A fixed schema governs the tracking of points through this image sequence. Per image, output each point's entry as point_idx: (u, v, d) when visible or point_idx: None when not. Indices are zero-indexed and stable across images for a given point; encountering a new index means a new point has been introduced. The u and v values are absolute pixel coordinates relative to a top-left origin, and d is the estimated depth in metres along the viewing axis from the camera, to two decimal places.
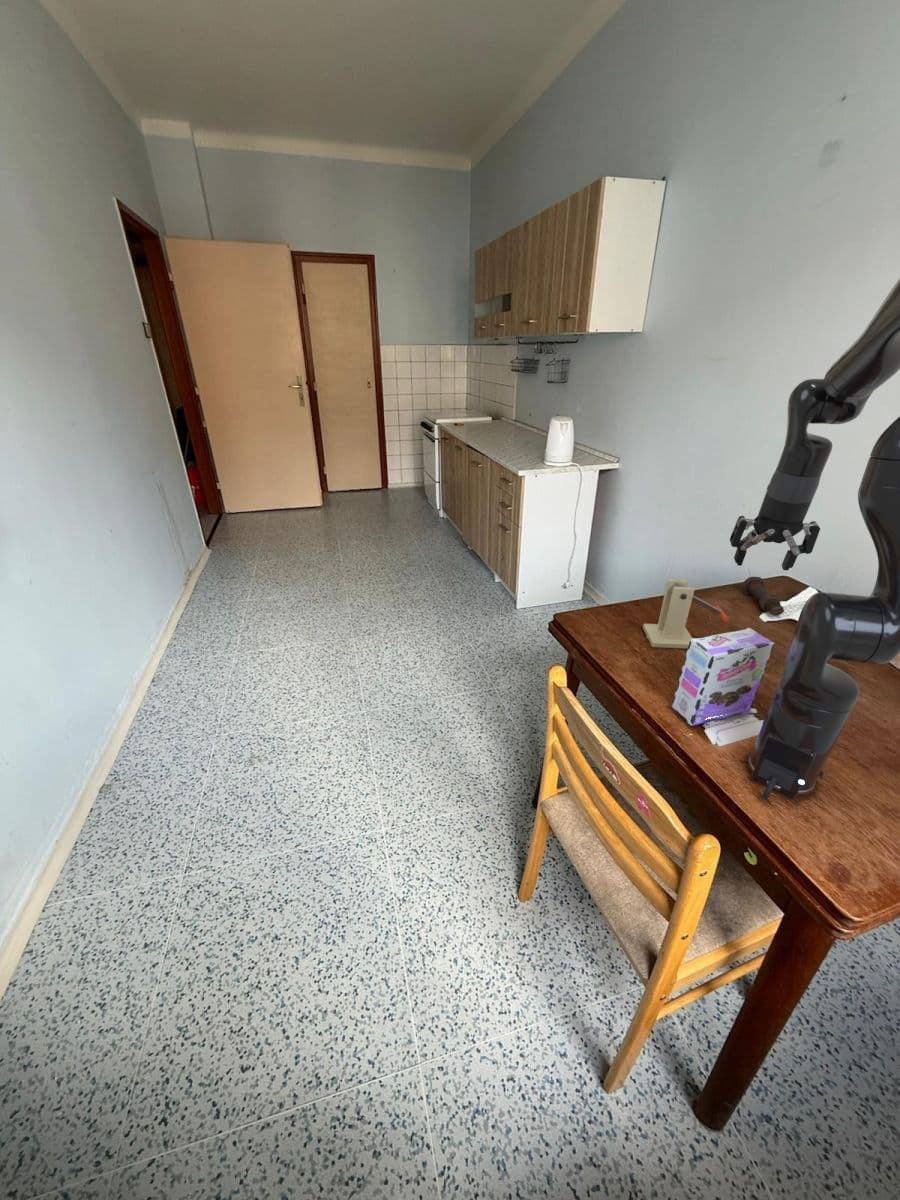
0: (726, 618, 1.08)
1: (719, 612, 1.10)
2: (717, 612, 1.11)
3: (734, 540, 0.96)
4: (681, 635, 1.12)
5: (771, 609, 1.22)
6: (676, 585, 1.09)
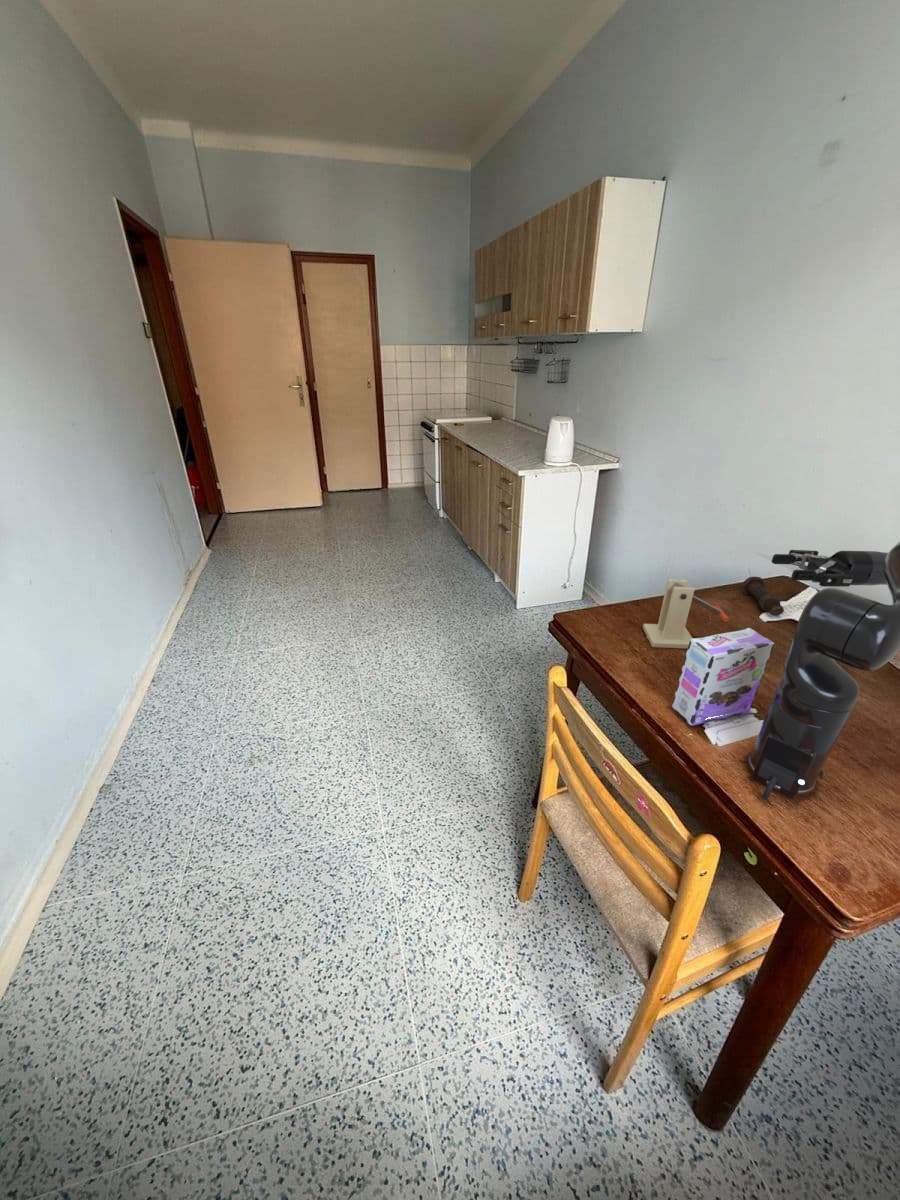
0: (726, 618, 1.08)
1: (719, 612, 1.10)
2: (717, 612, 1.11)
3: (796, 550, 1.09)
4: (681, 635, 1.12)
5: (771, 609, 1.22)
6: (676, 585, 1.09)
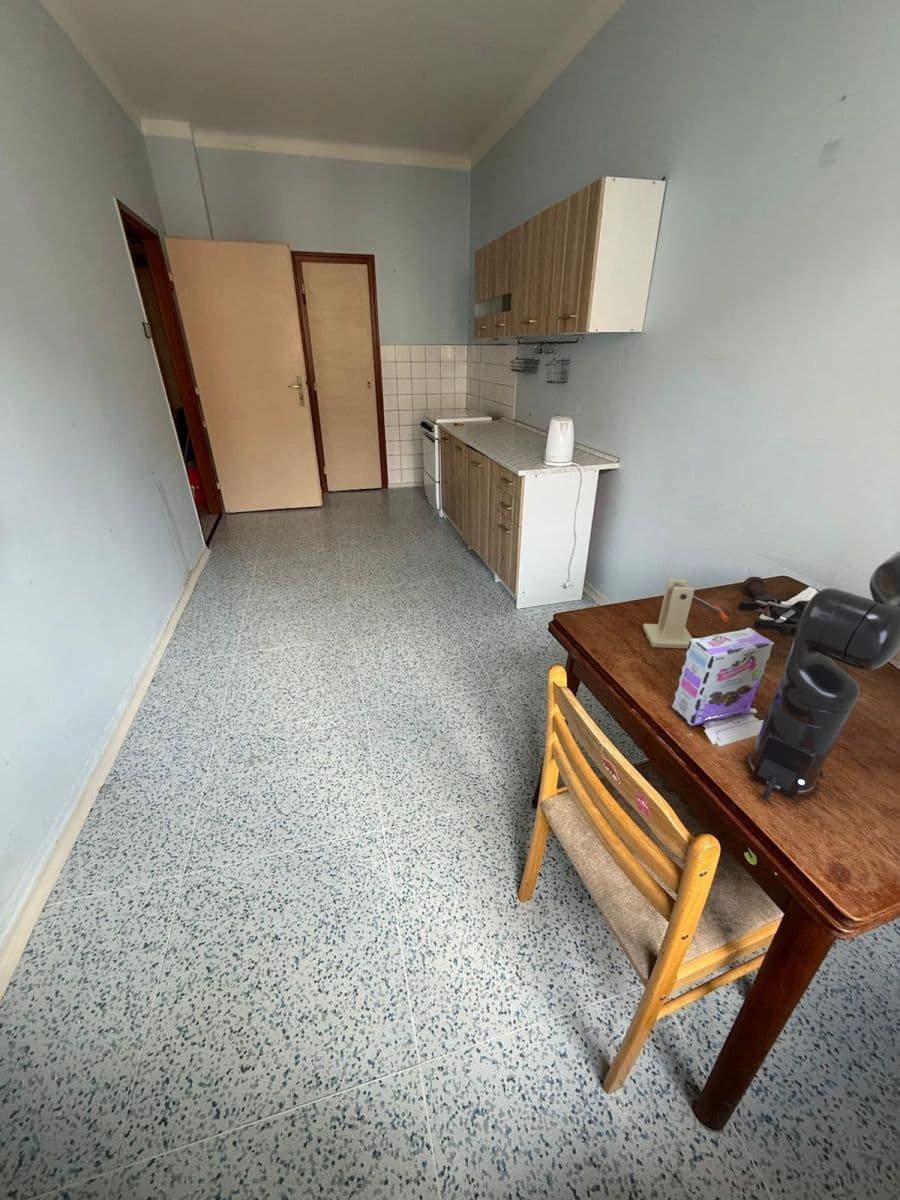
0: (726, 618, 1.08)
1: (719, 612, 1.10)
2: (717, 612, 1.11)
3: (761, 597, 1.15)
4: (681, 635, 1.12)
5: (771, 609, 1.22)
6: (676, 585, 1.09)
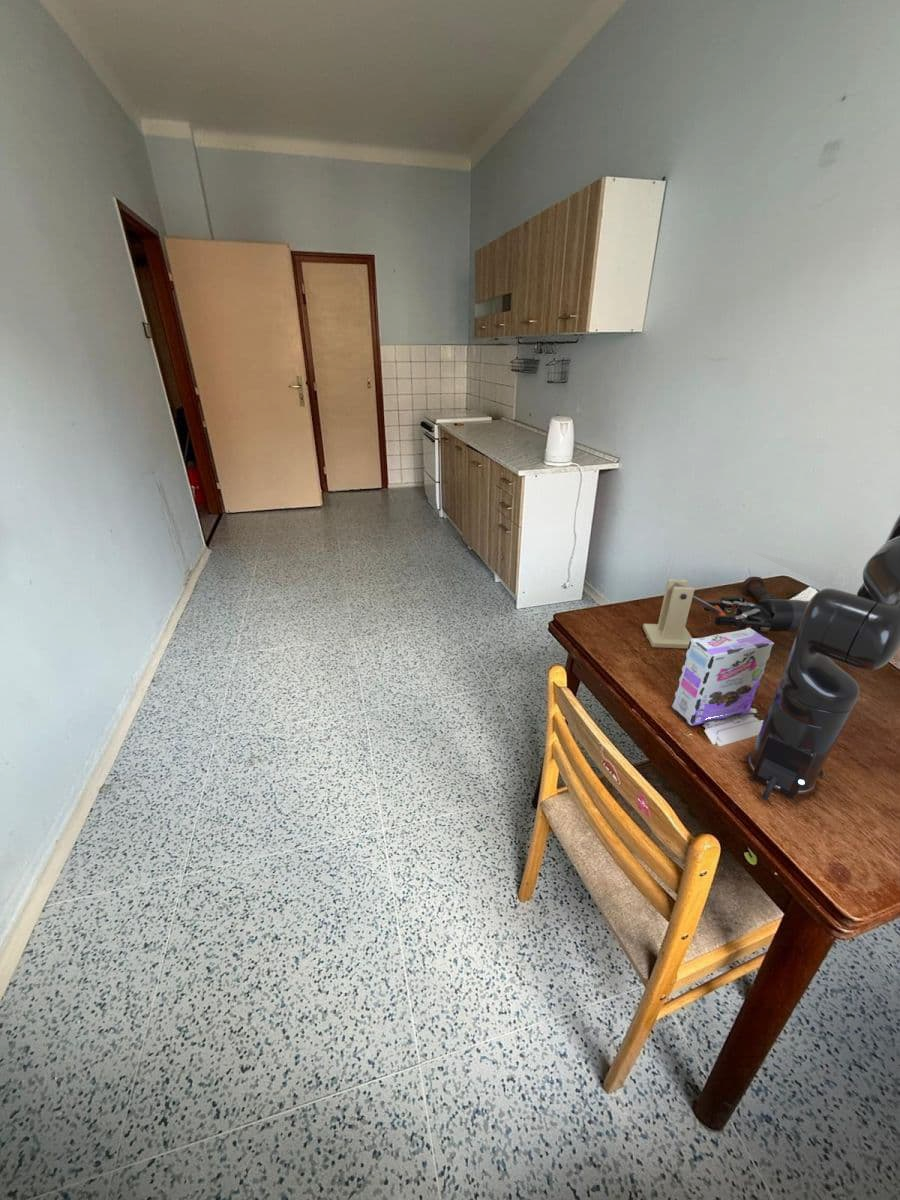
0: None
1: (719, 612, 1.10)
2: (717, 612, 1.11)
3: (726, 597, 1.16)
4: (681, 635, 1.12)
5: None
6: (676, 585, 1.09)
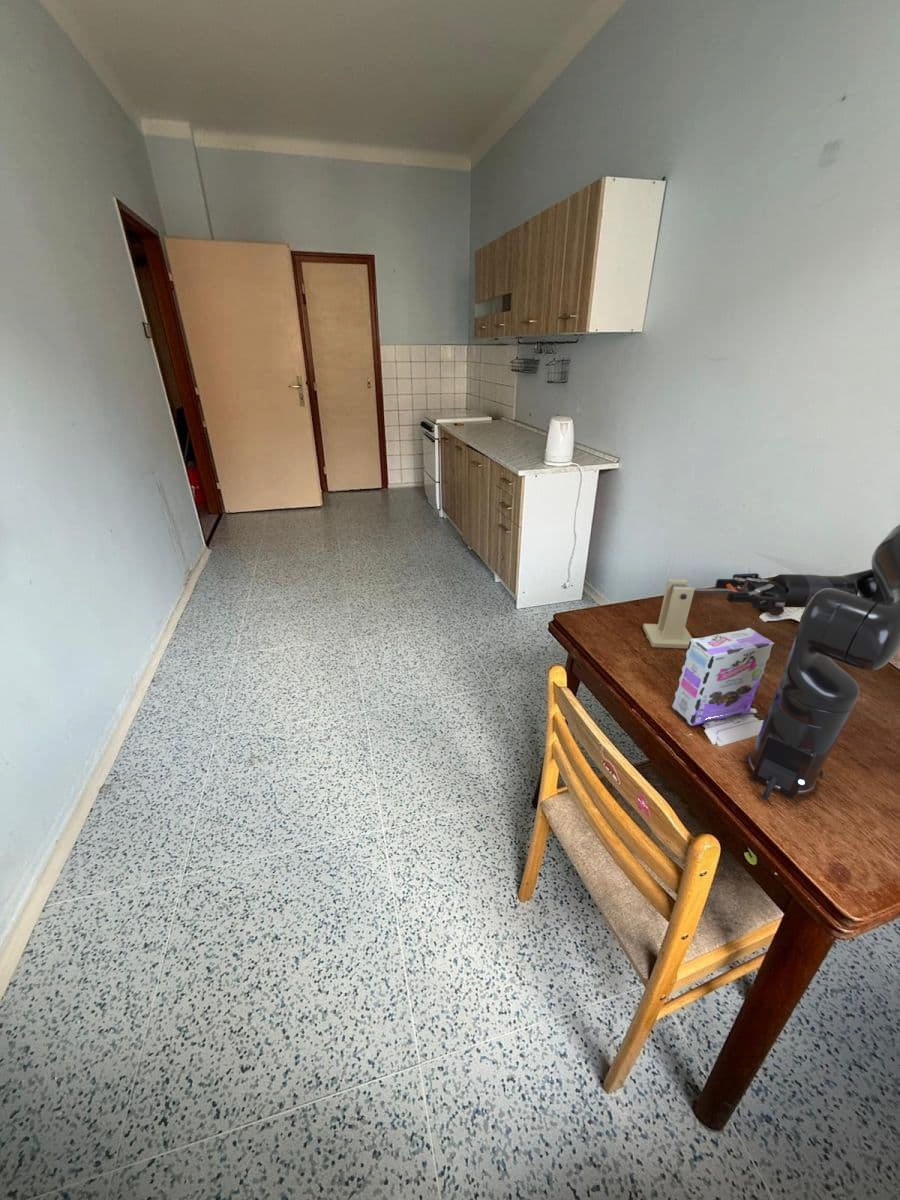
0: None
1: None
2: None
3: (739, 574, 1.12)
4: (681, 635, 1.12)
5: (771, 609, 1.22)
6: None
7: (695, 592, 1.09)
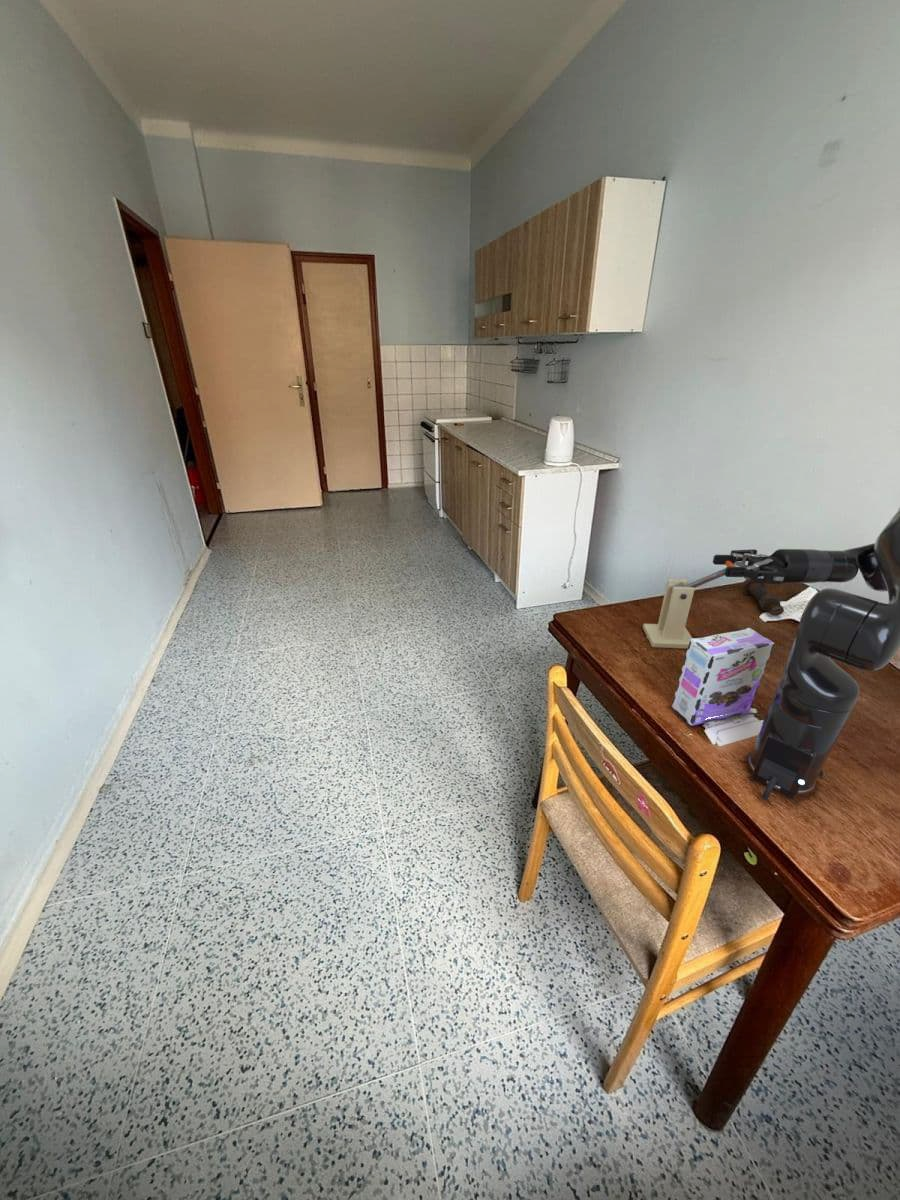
0: None
1: None
2: None
3: (737, 550, 1.10)
4: (681, 635, 1.12)
5: (771, 609, 1.22)
6: (672, 590, 1.10)
7: (695, 586, 1.08)
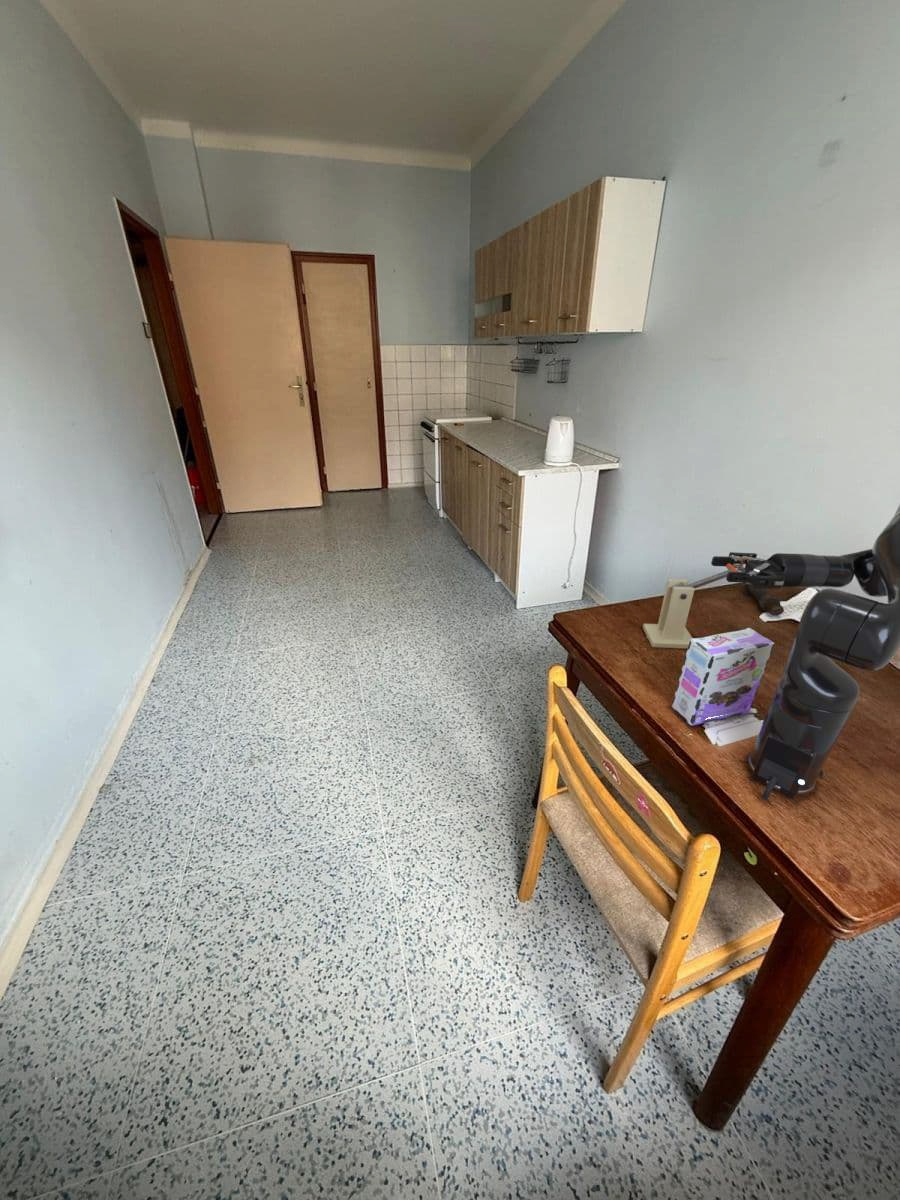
0: None
1: None
2: None
3: (735, 552, 1.11)
4: (681, 635, 1.12)
5: (771, 609, 1.22)
6: (672, 590, 1.10)
7: (695, 586, 1.08)
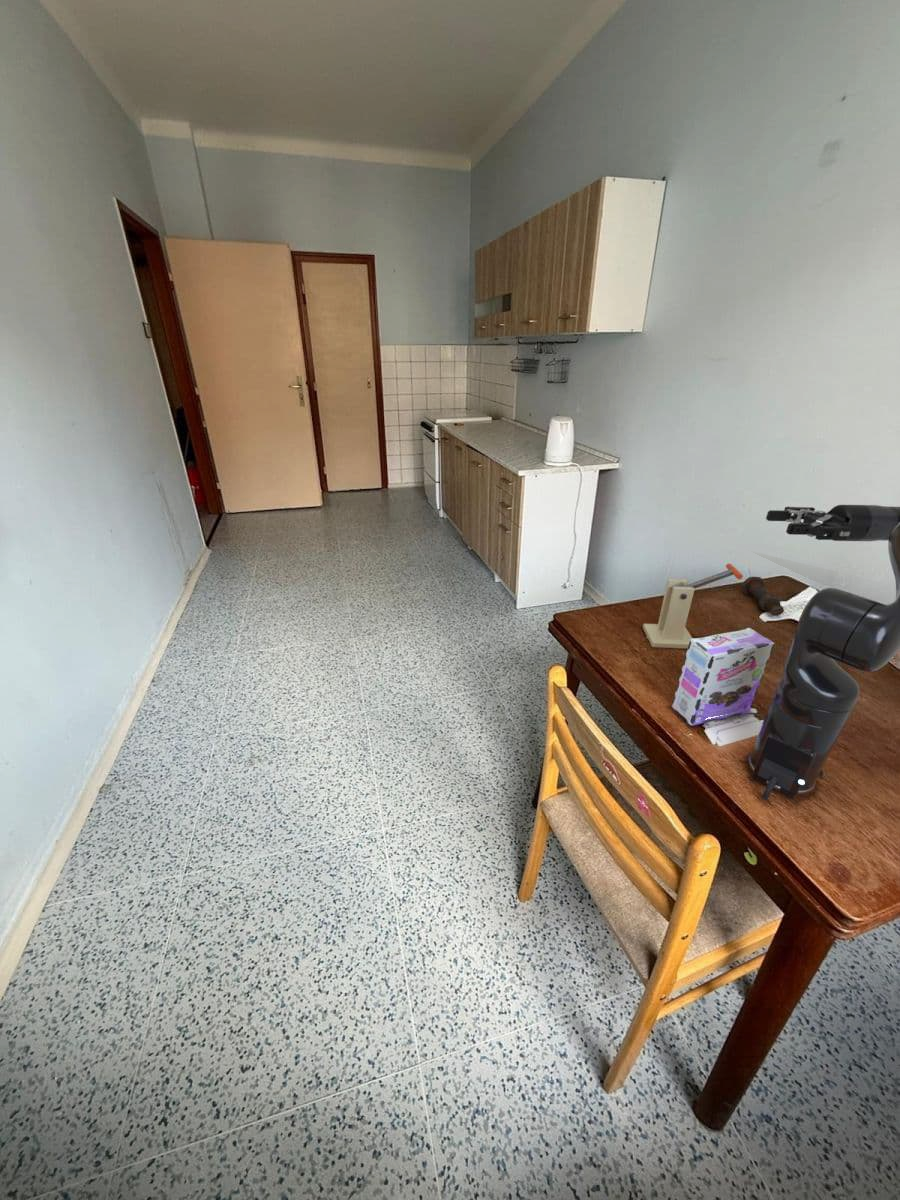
0: (738, 576, 1.03)
1: (730, 573, 1.06)
2: (729, 574, 1.06)
3: (791, 507, 1.05)
4: (681, 635, 1.12)
5: (771, 609, 1.22)
6: (672, 590, 1.10)
7: (695, 586, 1.08)
